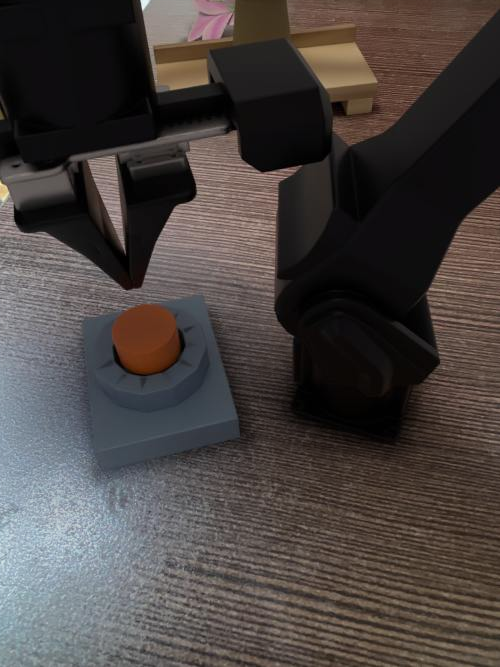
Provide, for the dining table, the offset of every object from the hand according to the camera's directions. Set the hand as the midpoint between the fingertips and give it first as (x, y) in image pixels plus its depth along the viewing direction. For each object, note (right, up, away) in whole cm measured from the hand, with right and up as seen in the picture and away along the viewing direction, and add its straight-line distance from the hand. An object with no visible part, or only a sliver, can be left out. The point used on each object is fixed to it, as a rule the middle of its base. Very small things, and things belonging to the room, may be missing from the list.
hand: (132, 283), depth 31 cm
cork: (+7, +22, +26) cm, 35 cm away
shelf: (+7, +20, +29) cm, 36 cm away
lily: (+3, +30, +37) cm, 48 cm away
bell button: (0, -4, +4) cm, 6 cm away
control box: (0, -6, +7) cm, 9 cm away
